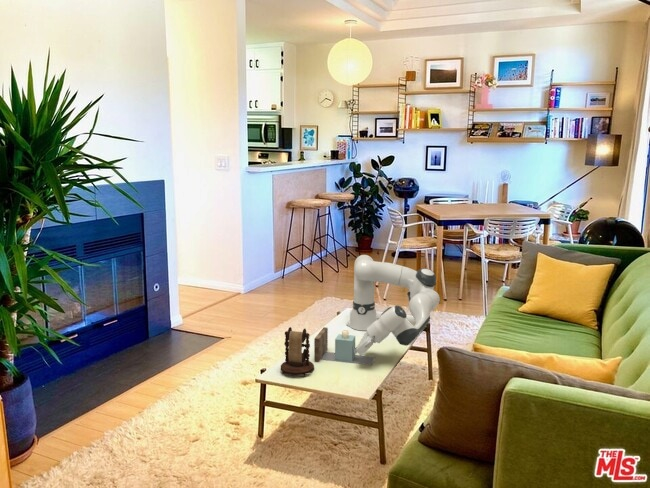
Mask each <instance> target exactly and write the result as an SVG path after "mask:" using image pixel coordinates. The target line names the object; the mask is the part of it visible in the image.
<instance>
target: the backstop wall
mask: <svg viewBox="0 0 650 488" xmlns="http://www.w3.org/2000/svg"><path fill="white" fill-rule="evenodd" d="M328 329H329V328H328V327H323V328H321V330H320V331H319V332H318V334H317V335H316V336H315V338H314V342H313V344H314V345H313V346H314V347H313V348H314V352H313V353H314V359H313V360H314V363H319V362H320V361H322V360H321V358H322V357H323V355H324V354H325V353H326V352H328V346H329V345H328V340H329V339H328V337H329V336H328V333H329V331H328Z"/></svg>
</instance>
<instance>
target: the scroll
mask: <svg viewBox="0 0 650 488" xmlns="http://www.w3.org/2000/svg"><path fill="white" fill-rule="evenodd" d="M310 336H311V335H310V333H308V332H307V329H306V328H303V329H302V331H296V330H292V327H288V330H285V331H284V337H285V338H284V346H285V348H284V349H285V351H284V354H285V355H284V356H285V358H284V359H285V360H284V362H282V363H281V364H280V371H281V373H282V374H284V375H285V374H286V375H289V376H290V375H291V376H303V377H304V378H305V377H306V376H307V375H308V374H310V373H312V372H313V371H314V370H315V365H314V363H313V362H312V361H310V347H311V344H310V340H309V339H310ZM303 348H304V349H303Z"/></svg>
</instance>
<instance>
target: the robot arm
mask: <svg viewBox="0 0 650 488" xmlns="http://www.w3.org/2000/svg"><path fill="white" fill-rule="evenodd" d="M353 271H354V272H353V274H354V275H353V301H352V309H351V310H350V312H349V320H348V322H346V326H347V327H350V328H351V329H353V330H357V331H365V333H364V334H363V335H362V336H361V337H362V338H361V339H360V341H359V342H358V344H357V346H355V349H354V351H353V352H354V353H355V355H362V356H364V354H365V353H366V352H367V351H369V349H370V348H371V347H372V346H373V345H374V344H376V343H377V344H380V343H382V342H383V341H384V340H385V339H386V338H388V336H389V335H390V334H392V335H393V336H394V337H395V339H396V341H397V342H398V344H399V345H402V346H406V347H407V346H409V345H411V344H413V343H414V342H415V341H416V340H417V338H418V336H419V334H420V333H421V332H422V331H423V330H424V328H425V327H426V326H427V325H428V323H429V322H430V320H431V312H432V311H434V310H435V309H436V308H437V307H438V305H439V304H440V302H441V299H440V298H441V297H440V294H439V293H438V292H437V291H435V289H434V288H435V286H436V284H437V282H436V281H437V275H436V274H435V272H434V271H433V270H431V269H429V268H425V267H423V268H419V269H418V270H416V269H413V268H410V267H407V266H404V265H400V264H396V263H392V262H388V261H387V262H383V261H375V260H374V259H373V258H372V257H371V256H370V255H368V254H361V255H359V256H357V257H356V259H355V260H354V265H353ZM375 282H376V283H377V282H378V283H385V284H389V285H393V286H395V287H396V286H397V287H400V288H401V287H402V288H406V289H408V290H409V291H408V292H407V296H408V310H409V312H410V315H411V316H412V318H413V320H414V322H415V324H414V325H413V324H412V323H411V322H410V320H409V319H408V318H407V317H408V316H407V312H406V311H405V309H403V307H402V306H400V305H394V306H390V307H387V308H386V309H385V310H384V311H383V312H382V313H381V314H380V316H379V317H378V313H377V310H376V303H375Z"/></svg>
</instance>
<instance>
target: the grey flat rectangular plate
mask: <svg viewBox="0 0 650 488" xmlns="http://www.w3.org/2000/svg"><path fill="white" fill-rule="evenodd" d="M375 360H376V356H372V355H371V356H369V355H359V354H355V357H354V359H353V361H352V362H350V361H340V360H335V352H332V351H326V353H325V354H324V355H323V357H322V358H321V360H320V361H326V362H327V361H328V362H329V361H330V362H337V363H338V362H340V363H346V364H347V363H348V364H356V365H357V364H359V365H365V366H366V365H367V366H373V363H374V361H375Z"/></svg>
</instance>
